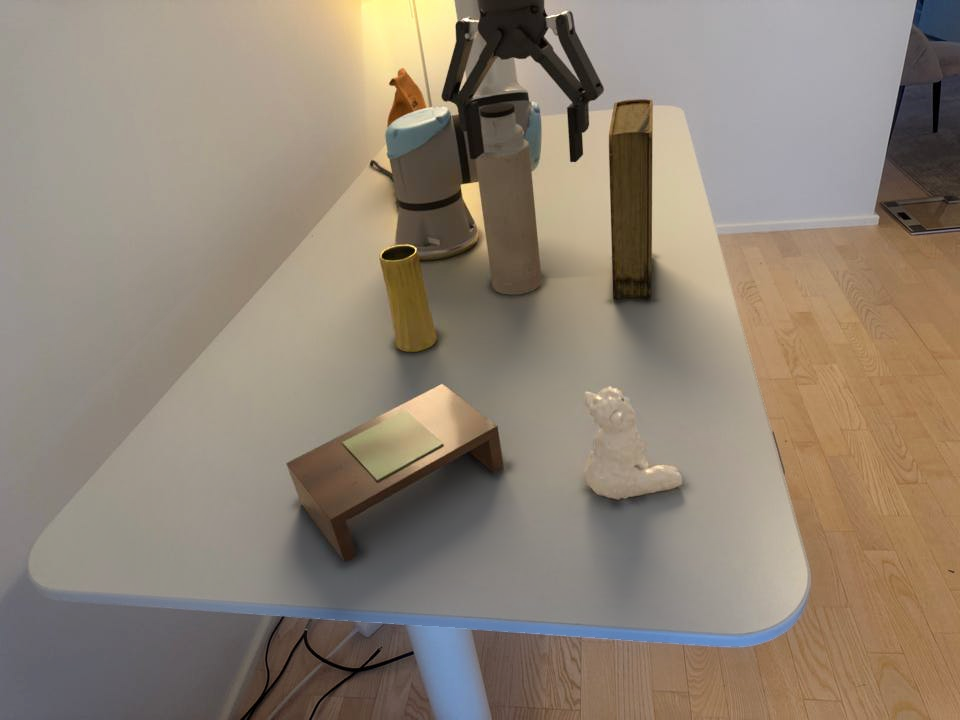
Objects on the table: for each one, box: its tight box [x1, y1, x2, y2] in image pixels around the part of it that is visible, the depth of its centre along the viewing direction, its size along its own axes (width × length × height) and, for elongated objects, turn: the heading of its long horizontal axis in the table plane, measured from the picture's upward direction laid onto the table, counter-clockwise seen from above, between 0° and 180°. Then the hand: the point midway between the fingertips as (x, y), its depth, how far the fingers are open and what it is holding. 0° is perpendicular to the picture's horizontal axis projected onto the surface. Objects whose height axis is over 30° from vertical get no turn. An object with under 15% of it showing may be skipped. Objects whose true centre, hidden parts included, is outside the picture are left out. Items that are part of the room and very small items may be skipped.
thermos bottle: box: [475, 103, 542, 296], centre depth 108 cm, size 8×8×28 cm
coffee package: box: [386, 67, 427, 129], centre depth 163 cm, size 10×12×22 cm
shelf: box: [286, 383, 505, 563], centre depth 78 cm, size 11×20×6 cm, turn 126°
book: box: [608, 98, 654, 301], centre depth 106 cm, size 16×6×25 cm, turn 168°
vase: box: [378, 244, 438, 353], centre depth 101 cm, size 6×6×14 cm
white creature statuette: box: [583, 385, 683, 501], centre depth 72 cm, size 10×9×12 cm
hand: (525, 157), depth 91 cm, fingers open, 13 cm apart
